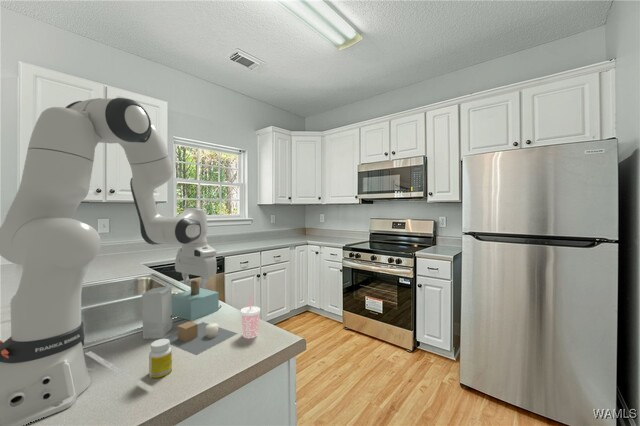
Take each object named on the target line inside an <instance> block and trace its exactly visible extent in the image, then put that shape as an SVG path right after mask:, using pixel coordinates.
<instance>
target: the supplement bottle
mask: <svg viewBox="0 0 640 426" xmlns="http://www.w3.org/2000/svg"><path fill="white" fill-rule="evenodd" d="M170 345H171V344H170V340H169V339H163V338H159V339H157V340H155V341H153V342H151V343H150V351H149V354H148V358H149V359H148V364H149V365H148V371H149V372H148V374H149V378H151V379H162V378H164V377H166V376H169V375H170V374H171V372H172V360H173V359H172V355H173V353H172V347H170Z"/></svg>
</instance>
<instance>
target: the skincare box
mask: <svg viewBox="0 0 640 426" xmlns="http://www.w3.org/2000/svg"><path fill="white" fill-rule="evenodd" d="M172 295H173V294H172V286H159V287H153V288H151V289H149V290H147V291H145V292H143V293H142V294H141V300H142V302H141V304H142V305H141V307H142V310H141V311H142V312H141V313H142V340H152V339H163V338H165V336H166V334H167V333H168V332H169V331H170V330H171V329H172V328H173V317H172Z"/></svg>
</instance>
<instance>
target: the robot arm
mask: <svg viewBox="0 0 640 426" xmlns="http://www.w3.org/2000/svg"><path fill="white" fill-rule="evenodd" d="M99 143H103V144H119V145H120V147H122V149H123V150H124V153H125V156H126V158H127V162H128V163H129V166H130V169H131V173H132V175H131V178H130V183H129V185H130V191H131V196H132V198H133V202H134V206H135V209H136V212H137V216H138V220H139V229H140V235H141V238H142V239H143V240H144V241H145V243H146V244H149V245H152V246H153V245H181V247H180V248H179V249H178V250H177V251H176V252H177V253H176V255H175V262H174V269H175V271H176V273H177V272H178V273H181V276H182V279H183V284H184V285H187V286H188V285H191V279H190V278H189V275H191V276H197V277H200V278H201V282H199V288H202V289H207V283H208V280H209V278H213V277H215V276H216V274H217V270H218V268H217V267H218V266H217V258H216V256H217V250H216V249H215V248H213V247H212V246H211V245H209V244H208V239H207V233H208V220H207V219H208V217H207V214H206V210H205V209H203V208H201V207H194V206H187V207H184V209H182V212H181V213H180V214H178V215H176V216H164V215H161V214H160V213H159V211H158V208H157V204H156V200H155V196H154V192H155V190H156V189H158V188H159V187H161V186H162V185H164V184H166V183H168V181H170V179H171V178H172V176H173V173H174V166H173V162H172V159H171V157H170V154H169V151H168V148H167V146H166V144H165V141H164V139H163V137H162V136H161V134H160V132H159V131H158V129H157V128H156V126H155V125H154V124H153V123H152V121H151V117H150V116H149V113H148V112H147V110H146V109H145V108H144V107H143V105H141V104H140V103H139V102H138V101H137V100H133V99H131V98H130V99H129V98H125V97H115V98H103V97H102V98H101V97H98V98H91V99H86V100H77V101H74V102H72V103H70V104H68V105H66V106H65V107H63V106H62V107H61V106H54V107H53V106H52V107H48V108H46V109H44V110H43V111H42V112H41V113H40V115H39V117H38V118H37V121H36V123H35V125H34V127H33V130H32V132H31V136H30V139H29V143H28V147H27V152H26V156H25V160H24V166H23V170H22V176H21V180H20V183H19V187H18V190H17V192H16V194H15V197H14V199H13V200H12V203H11V205H10V207H9V209H8V211H7V213H6V215H5V217H4V221H3V223H2V225H0V256H1V257H2V258H3V259H4V260H6V261H7V262H9V263H12V264H15V265H20V266H22V274H21V276H20V280H19V281H20V282H19V284H18V288H17V290H16V292H15V294H14V295H13V296H12V298H11V300H10V302H9V304H10V337H8V338H7V339H6V340H5V341H4V342H3V341H2V340H1V339H0V426H23V425H24V426H27V425H29V424H31V423H30V422H32V423H34V422H36V421H35V420H37V421H39V420H42V419H44V418H47V417H49V416H52V415H54V414H56V413H60V412H61V411H64V410H65V409H68V408H70V407H71V406H73V404H74V403H75V401H76V399H77V397H79V395H81V394H82V393H83V392H84V391H85V390H86V389H87V388H88V387H89V386H90V385H91V382H92V376H91V375H90V373H89V371H88V367H87V362H86V358H85V353H84V345H85V337H86V335H85V333H86V331H85V325H84V322H83V321H82V291H83V286H84V281H85V277H86V274H87V271H88V267H89V266H90V264H91V262H93V261H94V260H95V259H96V257H97V256H98V254H99V252H100V250H101V247H102V240H101V237H100V234H99V232H98V231H97V230H96V229H95V228H94V227H93V226H91V225H89V224H87V223H85V222H83V221H80V220H77V219H74V218H73V217H74V215H75V213H76V211H77V209H78V207H79V206H80V204H81V202H83V200H85V199H86V198H87V197H88V194H89V191H90V186H91V185H90V184H91V179H92V173H93V167H94V163H95V162H94V161H95V151H96V147H97V146H98V144H99ZM43 417H44V418H43ZM41 418H42V419H41ZM38 419H39V420H38ZM33 421H34V422H33ZM28 423H29V424H28ZM26 424H27V425H26Z"/></svg>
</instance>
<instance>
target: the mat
mask: <svg viewBox="0 0 640 426" xmlns="http://www.w3.org/2000/svg"><path fill="white" fill-rule="evenodd" d="M238 334H239V333H238V332H235V331H231V330H228V329H226V328H222V327H219V324H218V323H216V322H215V323H214V322H213V323H207V322H204V321H202V322H201V323H196V322H193V321H189V320H188V321H187V322H185V323H182V324H179V325H177V332H176V333H173V334H171V335H168V336H167V337H163V338H162V339H169V340H170V345H171V346H173V347H176V348H178V349H181V350H184V352H185V351H186V352H187V353H190V354H193V355H195V356H197V355H200V354H201V353H204V352H205V351H208V350H210V349H211V348H213V347H214V346H217V345H219V344H221V343H223V342H225V341H226V340H228V339H230V338H232V337H234V336H236V335H238Z"/></svg>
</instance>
